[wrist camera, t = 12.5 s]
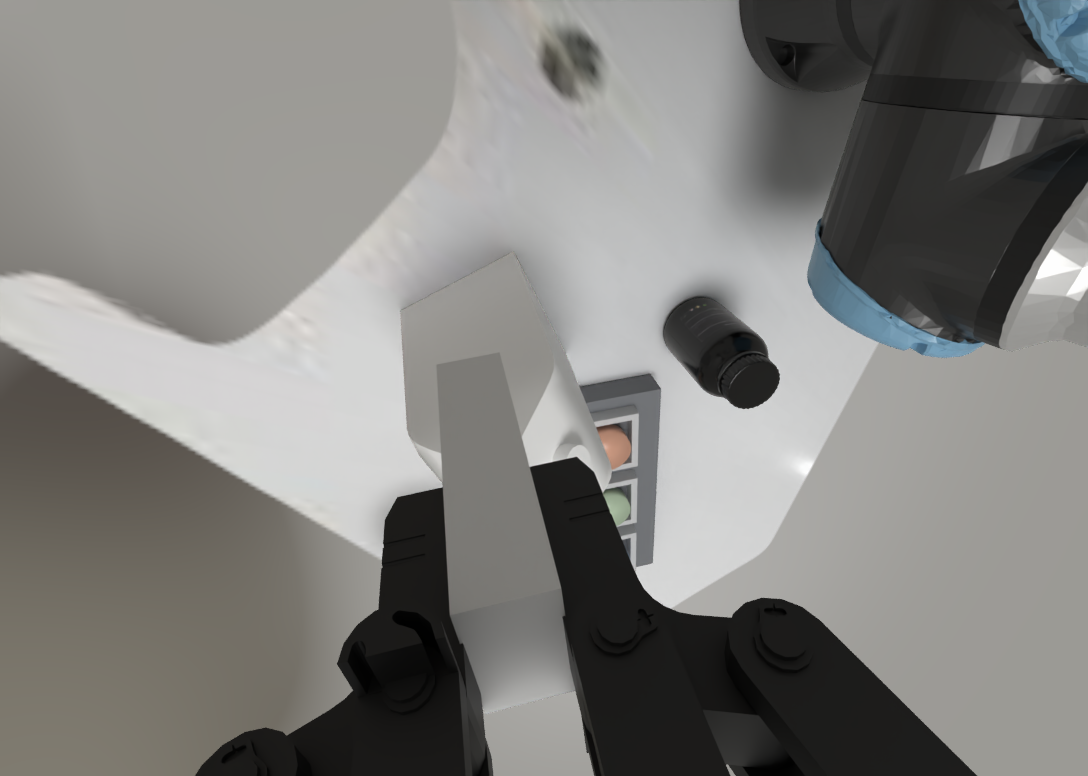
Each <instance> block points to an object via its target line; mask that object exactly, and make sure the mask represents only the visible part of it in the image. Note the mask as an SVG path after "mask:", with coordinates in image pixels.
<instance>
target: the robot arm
mask: <svg viewBox="0 0 1088 776" xmlns="http://www.w3.org/2000/svg"><path fill="white" fill-rule="evenodd" d="M740 10H741V21H742V27H743V31H744V36H745V39H746V42H747V45H748V47H749V50H750V52H751V54H752V56H753V58H754V60H755V61H756V63H757V64H758V66H759V67H760V68H761V69H762V71H763V72H764V73H765V74H766V75H767V76H768V77H770V78H771V79H772V80H774V81H775V82H777V83H779V84H780V85H783V86H785V87H788V88H791V89H795V90H803V91H812V92H828V91H834V90H839V89H843V88H847V87H849V86H852V85H855V84H857V83H859V82H862V81H864V80H867V79H868V82H867V85H866V88H865V91H864V94H863V97H862V100H861V102H860V105H859V108H858V111H857V114H856V117H855V120H854V123H853V126H852V129H851V132H850V135H849V138H848V141H847V144H846V147H845V150H844V153H843V156H842V159H841V162H840V165H839V168H838V171H837V174H836V177H835V180H834V183H833V186H832V189H831V192H830V195H829V198H828V201H827V204H826V207H825V210H824V213H823V216H822V218H821V219H820V220H819V221H818V223H817V226H816V230H815V238H816V241H815V245H814V249H813V252H812V256H811V260H810V263H809V267H808V274H807V278H808V283H809V286H810V288H811V290H812V293H813V296H814V298H815V299H816V300H817V302H818V303H819V304H820V305H821V306H822V307H823V308H824V309H825V310H826V311H827V312H828V313H829V314H830V315H831V316H833V317H834V318H835V319H837V320H838V321H840V322H841V323H843V324H844V325H846V326H847V327H849V328H851V329H853V330H854V331H856V332H858V333H860V334H862V335H864V336H866V337H868V338H870V339H872V340H875V341H877V342H879V343H882V344H885V345H887V346H890V347H894V348H896V349H900V350H907V349H909V348H911V349H913V350H915V351H916V352H918V353H920V354H921V355H925V356H931V357H942V358H947V357H960V356H963V355H966V354H969V353H971V352H973V351H974V350H976V349H977V348H979V347H981V346H983V345H984V344H985V343H987V344H989V345H992V346H995V347H998V348H1000V349H1003V350H1008V351H1015V350H1019V349H1023V348H1026V347H1030V346H1034V345H1038V344H1041V343H1045V342H1049V341H1060V340H1066V341H1069V342H1072V343H1075V344H1078V345H1081V346H1084V347H1087V348H1088V0H740ZM436 367H437V386H438V405H439V423H440V442H441V461H442V479H443V488H438V489H433V490H429V491H424V492H420V493H415V494H411V495H406V496H401V497H397V499H396V501H395V503H394V504H393V506H392V508H391V510H390V512H389V514H388V515H387V517H386V519H385V527H384V540H383V544H384V548H383V554H382V566H383V568H382V569H381V582H380V596H379V610H377V611H374V612H373V613H372V614H371V615H370V616H368V617H367V618H365V619H364V620H363V621H362V622H360V623H359V624H358V625H357V626H356V627H355V629H354V630H353V631H352V633H351V634H350V636H349V637H348V639H347V640H346V641H345V642H344V645H343V647H342V651H341V654H340V657H339V660H338V663H337V665H338V666H339V668H340V669H341V671H342V673H343V674H344V676H345V678H346V679H347V681H348V682H349V684H350V686H351V687H352V689H353V691H352V692H351V693H350V694H349V695H348V696H347V698H345V699H344V700H343V701H342V702H340V703H339V704H337V705H336V706H335V707H333V708H332V709H331V710H329V711H327V712H326V713H324V714H322V715H321V716H319V717H318V718H316V719H314V720H312V721H311V722H309V723H307V724H306V725H304V726H302V727H301V728H299V729H297V730H295V731H294V732H292V733H291V734H289V735H287V736H286V735H285V734H284V733H283V732H281V731H277V730H273V729H269V728H262V729H257V730H253V731H248V732H244V733H243V734H241V735H239V736H237V737H236V738H234V739H232V740H231V741H229V742H227V743H225V744H224V745H222V747H220V748H219V749H218V750H217V751H216V752H215V753H214V754H213V755H212V756H211V757H210V758H209V759H208V760H207V761H206V762H205V763H204V764H203V765H202V766H201V768H200V769H199V771H198V772H197V774H196V776H493V768H492V759H491V754H490V751H489V748H488V744H487V741H486V738H485V730H484V719H483V710H482V706H483V709H484V712H485V714H489V713H493V712H496V711H500V710H504V709H508V708H511V707H515V706H519V705H523V704H526V703H530V702H534V701H537V700H542V699H545V698H549V697H553V696H556V695H560V694H564V693H568V692H572V691H576V695H577V699H578V703H579V707H580V711H581V715H582V722H583V729H584V736H585V743H586V750H587V753H589V755H590V759H591V763H592V768H593V772H594V776H730V774H729V771H728V769H727V767H726V764H728V765H729V766H730V768H731V769H732V771H733V772H734V774H735V775H736V776H977V775H976V774H975V773H974V772H973V771H972V770H971V769H970V768H969V767H968V766H967V765H966V764H965V763H964V762H963V761H961V759H960V758H959V757H957V756H956V755H955V754H954V753H953V752H952V751H951V750H950V749H949V748H948V747H947V746H946V745H945V744H944V743H943V742H942V741H941V740H940V739H939V738H938V737H937V736H936V735H935V734H934V733H933V732H932V731H931V730H930V729H929V728H928V727H927V726H926V725H925V724H924V723H923V722H922V721H921V720H920V719H919V718H918V717H917V716H916V715H915V714H914V713H913V712H912V711H911V710H910V709H909V708H908V707H907V706H906V705H905V704H904V703H903V702H902V701H901V700H900V699H899V698H898V697H897V696H896V695H895V694H894V693H893V692H892V691H891V690H890V689H888V687H887V686H886V685H885V684H883V682H882V681H881V680H880V679H879V678H878V677H877V676H876V675H875V674H874V673H872V671H871V670H870V669H869V668H868V667H866V666H865V665H864V664H863V663H862V662H861V661H860V660H859V659H858V658H857V657H856V656H855V655H854V654H853V653H852V652H851V651H850V650H849V649H848V648H847V647H846V646H845V645H844V644H843V643H842V642H841V641H840V640H839V639H838V638H837V637H836V636H835V635H834V634H833V633H832V632H831V631H830V630H829V629H828V628H827V627H826V626H825V625H824V624H823V623H822V622H821V621H820V620H819V619H817V618H816V617H815V616H813V615H812V614H811V613H809V612H808V611H807V610H805V609H804V608H803V607H800V606H798V605H795V604H793V603H790V602H787V601H785V600H782V599H771V598H760V599H757V600H753V601H750V602H747V603H745V604H743V605H742V606H741V607H740V608H739V609H738V610H737V611H736V612H735V613H734V614H733V616H732V618H727V617H714V616H701V615H700V616H699V615H691V614H686V613H680V612H677V611H675V610H672V609H670V608H667V607H665V606H663V605H662V604H660V603H659V602H657V601H656V600H654V599H653V598H652V597H651V596H650V595H649V594H648V593H647V592H646V591H645V590H644V588H643V587H642V585H641V583H640V581H639V580H638V578H637V575H636V573H635V570H634V568H633V566H632V563H631V561H630V558H629V556H628V553H627V551H626V548H625V546H624V544H623V541H622V539H621V536H620V534H619V531H618V529H617V527H616V524H615V522H614V519H613V517H612V514H610V510H609V507H608V505H607V502H606V500H605V497H603V493H602V490H601V488H600V485H599V483H598V480H597V478H596V475H595V473H594V471H592V470H591V469H590V468H589V467H588V466H587V465H586V464H585V463H583V462H582V461H581V460H580V459H579V458H578V457H573V458H568V459H563V460H559V461H554V462H550V463H545V464H540V465H536V466H531V467H529V463H528V459H527V455H526V452H525V448H524V444H523V440H522V436H521V432H520V429H519V425H518V421H517V417H516V413H515V409H514V406H513V402H512V398H511V394H510V390H509V387H508V383H507V379H506V375H505V371H504V367H503V364H502V360H501V356H500V352H499V353H493V354H488V355H483V356H478V357H473V358H468V359H463V360H457V361H452V362H447V363H442V364H437V365H436Z"/></svg>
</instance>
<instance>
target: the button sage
mask: <svg viewBox="0 0 1088 776" xmlns="http://www.w3.org/2000/svg"><path fill="white" fill-rule="evenodd" d="M603 497H605V500H606V502H607V505H608V507H609V510H610V514H612V517H613V519H614V522H615V524H616V526H618V525H620V524H621V523H623V522H624V521H625V520H626V519H627V518H628V516H629V514H630V511H631V507H630V504H629V502H628V500H627V498H626V496H625V494H624V492H623V491H622V490H620V489H618V488H610V489H605V490H604V492H603Z"/></svg>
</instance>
